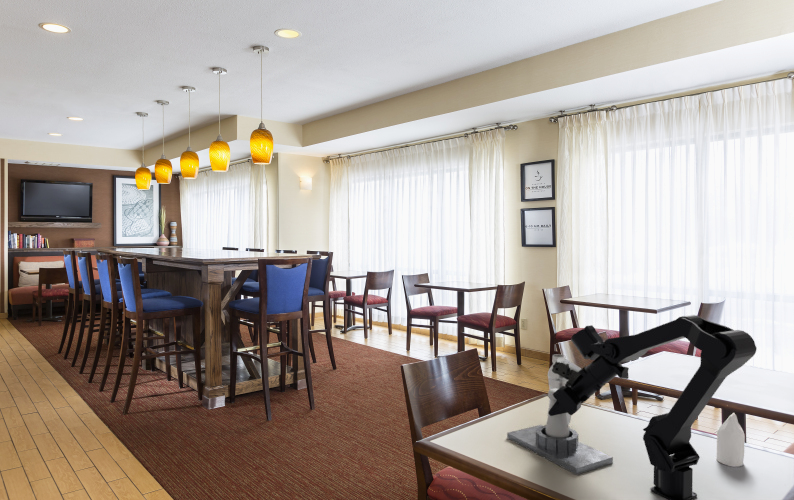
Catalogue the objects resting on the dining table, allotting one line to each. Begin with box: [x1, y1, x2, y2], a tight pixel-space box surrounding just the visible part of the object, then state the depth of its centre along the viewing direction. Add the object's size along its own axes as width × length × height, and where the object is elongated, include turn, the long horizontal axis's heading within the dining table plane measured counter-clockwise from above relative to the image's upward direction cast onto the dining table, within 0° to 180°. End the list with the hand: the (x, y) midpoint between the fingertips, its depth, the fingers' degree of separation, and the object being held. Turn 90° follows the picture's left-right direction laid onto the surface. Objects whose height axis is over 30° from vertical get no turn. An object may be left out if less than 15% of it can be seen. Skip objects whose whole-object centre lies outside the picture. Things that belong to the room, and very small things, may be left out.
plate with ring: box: [506, 424, 614, 475], centre depth 130 cm, size 24×12×4 cm, turn 28°
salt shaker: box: [545, 388, 570, 438], centre depth 130 cm, size 6×6×13 cm
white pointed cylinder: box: [716, 412, 746, 468], centre depth 122 cm, size 6×12×6 cm
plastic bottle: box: [547, 354, 572, 426], centre depth 146 cm, size 6×7×20 cm
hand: (551, 412), depth 130 cm, fingers closed on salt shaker, 3 cm apart
